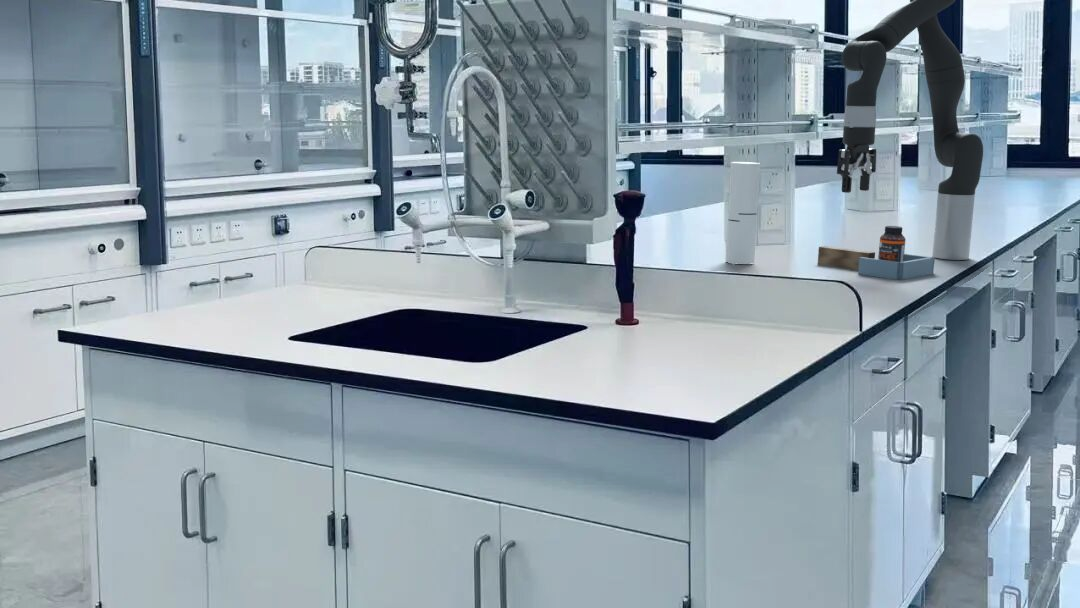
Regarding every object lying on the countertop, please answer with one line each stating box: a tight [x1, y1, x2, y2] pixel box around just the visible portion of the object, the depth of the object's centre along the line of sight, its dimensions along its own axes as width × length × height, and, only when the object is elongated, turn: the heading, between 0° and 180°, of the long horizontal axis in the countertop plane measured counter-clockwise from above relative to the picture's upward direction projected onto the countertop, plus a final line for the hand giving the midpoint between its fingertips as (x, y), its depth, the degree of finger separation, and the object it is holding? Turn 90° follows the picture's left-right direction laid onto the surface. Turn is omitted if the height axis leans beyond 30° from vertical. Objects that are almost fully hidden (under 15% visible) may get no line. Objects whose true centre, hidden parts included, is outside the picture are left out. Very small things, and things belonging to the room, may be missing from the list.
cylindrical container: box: [725, 161, 761, 264], centre depth 279 cm, size 7×7×25 cm
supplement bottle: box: [877, 225, 906, 262], centre depth 270 cm, size 6×6×11 cm
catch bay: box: [857, 253, 936, 281], centre depth 269 cm, size 11×16×4 cm
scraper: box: [817, 245, 876, 271], centre depth 278 cm, size 16×10×4 cm, turn 44°
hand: (855, 191), depth 277 cm, fingers open, 8 cm apart
